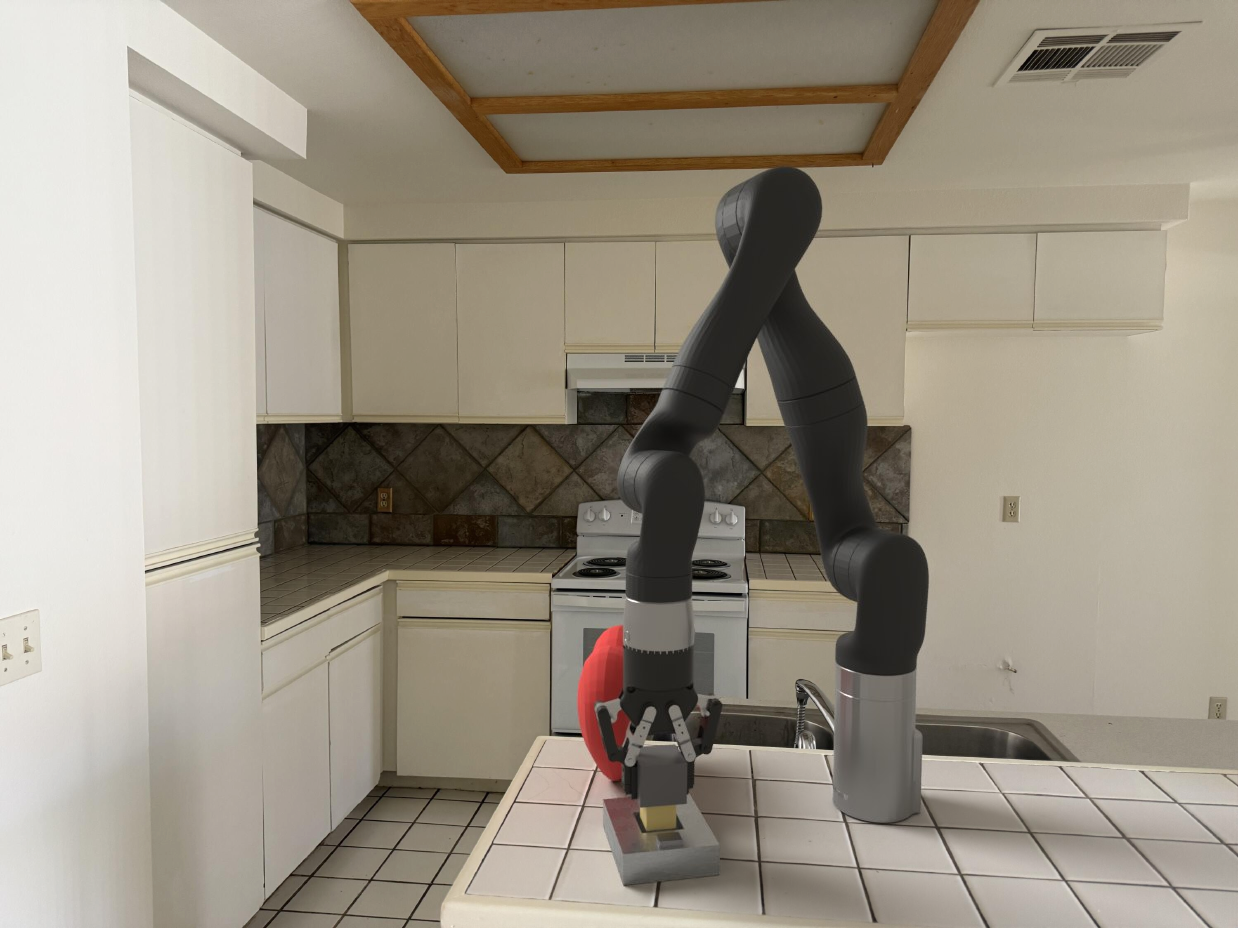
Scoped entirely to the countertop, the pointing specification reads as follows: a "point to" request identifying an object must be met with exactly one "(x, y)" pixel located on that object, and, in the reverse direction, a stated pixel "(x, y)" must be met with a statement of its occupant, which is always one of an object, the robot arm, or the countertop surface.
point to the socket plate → (659, 844)
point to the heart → (602, 697)
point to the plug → (660, 785)
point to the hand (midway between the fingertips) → (657, 793)
